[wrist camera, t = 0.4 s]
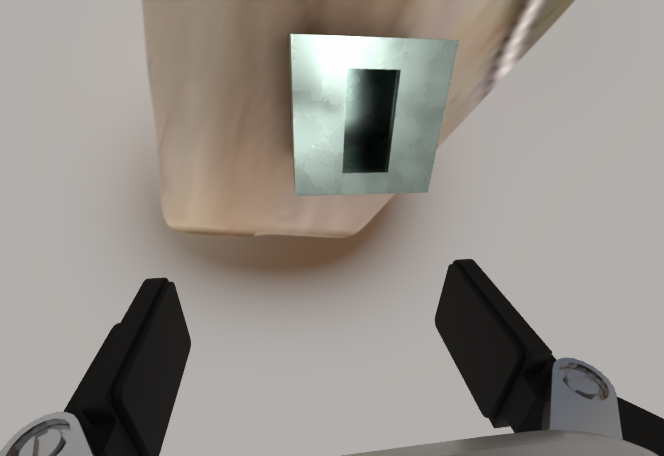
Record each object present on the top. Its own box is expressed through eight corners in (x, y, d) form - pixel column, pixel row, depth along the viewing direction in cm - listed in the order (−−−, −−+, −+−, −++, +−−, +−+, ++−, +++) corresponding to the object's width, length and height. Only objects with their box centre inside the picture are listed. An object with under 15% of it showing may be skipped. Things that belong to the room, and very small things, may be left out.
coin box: (288, 34, 31) (290, 33, 22) (407, 38, 32) (458, 40, 23) (292, 155, 37) (295, 196, 28) (392, 154, 39) (427, 192, 29)
